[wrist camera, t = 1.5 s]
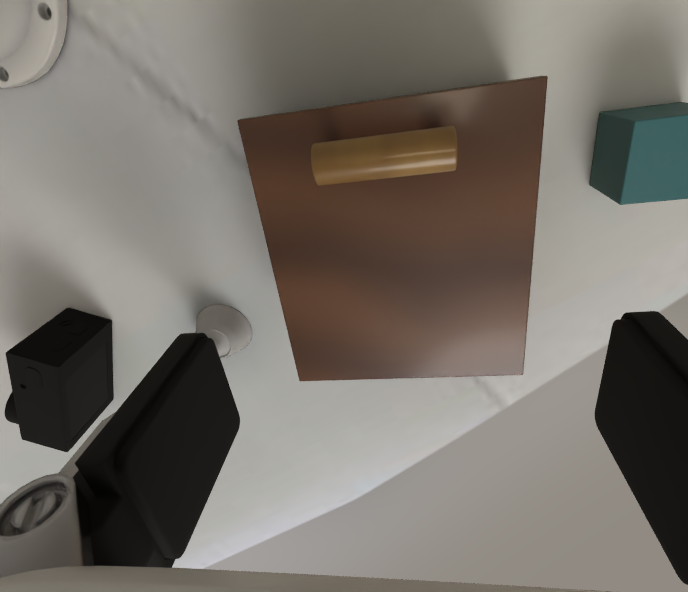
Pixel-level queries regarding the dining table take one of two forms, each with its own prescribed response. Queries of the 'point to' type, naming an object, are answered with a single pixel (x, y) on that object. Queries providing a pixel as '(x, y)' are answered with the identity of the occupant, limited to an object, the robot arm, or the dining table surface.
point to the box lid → (403, 229)
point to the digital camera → (61, 379)
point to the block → (642, 154)
